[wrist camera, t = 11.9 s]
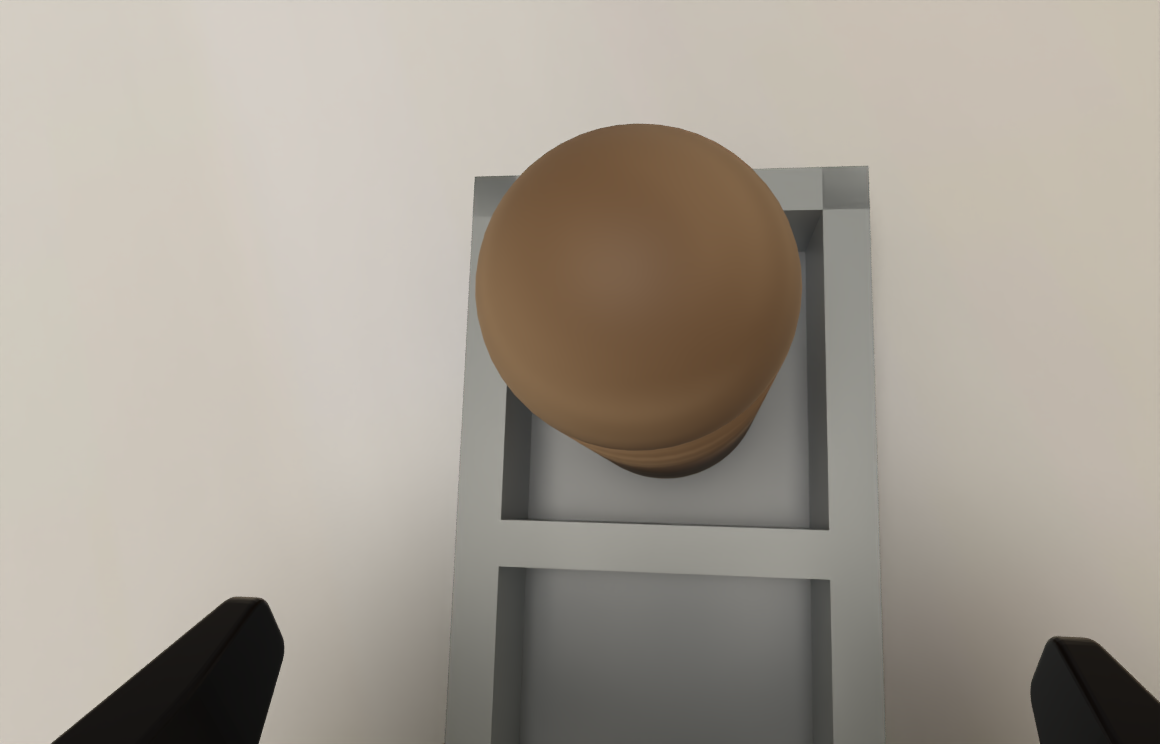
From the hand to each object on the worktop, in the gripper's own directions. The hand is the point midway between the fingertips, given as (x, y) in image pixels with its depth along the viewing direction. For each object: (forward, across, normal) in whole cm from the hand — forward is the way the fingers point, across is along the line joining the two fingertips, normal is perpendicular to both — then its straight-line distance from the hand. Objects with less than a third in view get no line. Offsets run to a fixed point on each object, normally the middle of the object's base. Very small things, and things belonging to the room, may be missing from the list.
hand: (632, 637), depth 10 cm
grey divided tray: (+9, 0, +8) cm, 12 cm away
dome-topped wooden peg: (+11, 0, +4) cm, 12 cm away
